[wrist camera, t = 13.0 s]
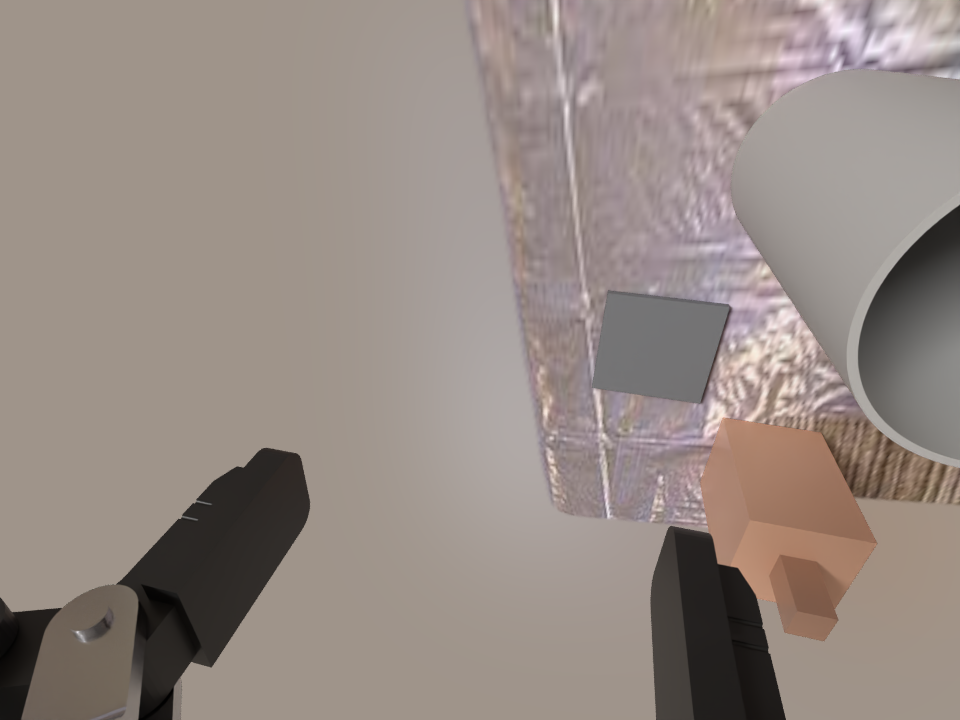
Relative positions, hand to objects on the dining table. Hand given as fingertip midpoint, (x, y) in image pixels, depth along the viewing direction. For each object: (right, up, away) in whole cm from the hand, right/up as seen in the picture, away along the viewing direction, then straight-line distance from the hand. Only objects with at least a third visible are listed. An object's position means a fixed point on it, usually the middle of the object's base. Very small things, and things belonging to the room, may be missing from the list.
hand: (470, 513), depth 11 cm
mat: (+16, +4, +36) cm, 40 cm away
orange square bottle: (+27, -6, +40) cm, 49 cm away
